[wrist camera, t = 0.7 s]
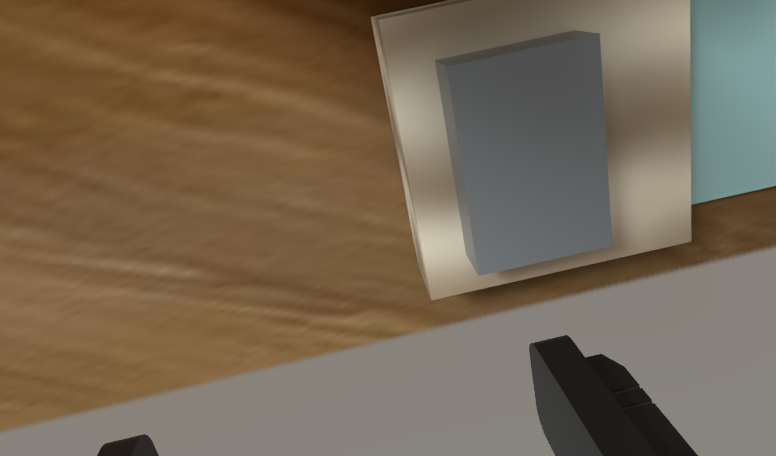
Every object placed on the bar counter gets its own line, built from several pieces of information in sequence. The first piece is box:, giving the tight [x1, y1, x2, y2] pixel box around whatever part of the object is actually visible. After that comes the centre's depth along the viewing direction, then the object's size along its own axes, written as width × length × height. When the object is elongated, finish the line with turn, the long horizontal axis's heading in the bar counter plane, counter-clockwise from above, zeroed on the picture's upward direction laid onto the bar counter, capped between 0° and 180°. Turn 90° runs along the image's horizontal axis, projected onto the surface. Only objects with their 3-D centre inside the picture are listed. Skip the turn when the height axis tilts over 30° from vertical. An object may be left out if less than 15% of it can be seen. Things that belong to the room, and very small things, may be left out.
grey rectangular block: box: [435, 30, 612, 276], centre depth 26 cm, size 9×6×2 cm, turn 11°
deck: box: [371, 0, 691, 300], centre depth 29 cm, size 13×13×4 cm
